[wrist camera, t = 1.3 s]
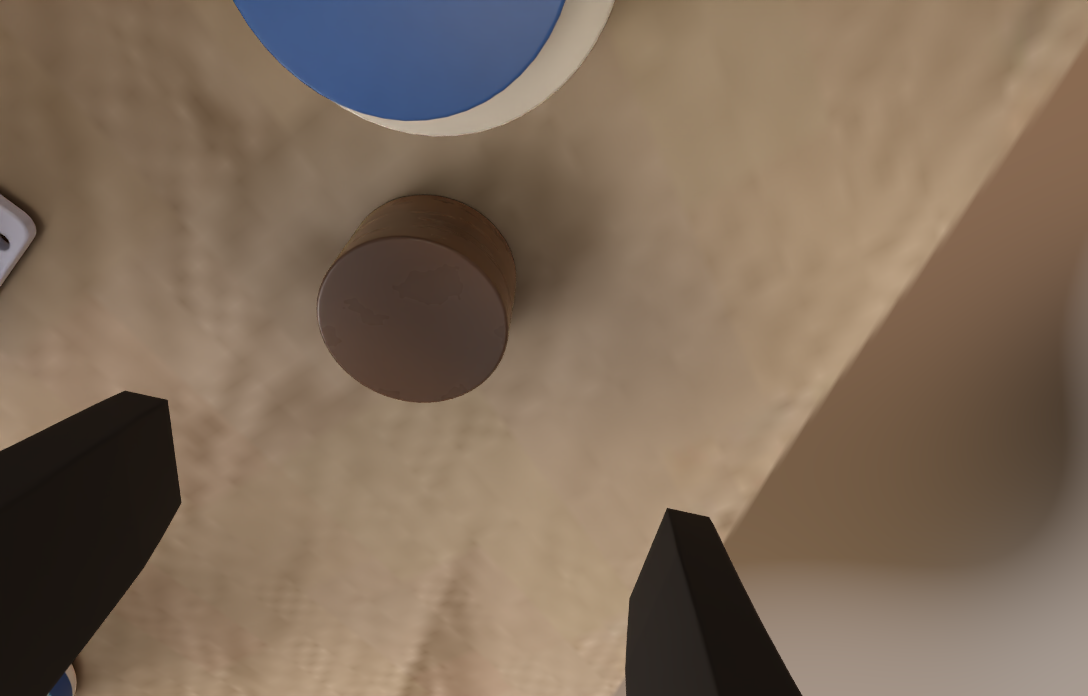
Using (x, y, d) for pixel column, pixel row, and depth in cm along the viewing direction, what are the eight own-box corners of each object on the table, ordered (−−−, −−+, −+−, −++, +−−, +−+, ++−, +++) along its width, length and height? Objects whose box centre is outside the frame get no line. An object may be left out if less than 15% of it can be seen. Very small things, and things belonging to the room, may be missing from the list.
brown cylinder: (438, 373, 20) (420, 432, 18) (314, 269, 19) (276, 320, 16) (551, 280, 19) (548, 332, 16) (425, 156, 17) (401, 194, 14)
